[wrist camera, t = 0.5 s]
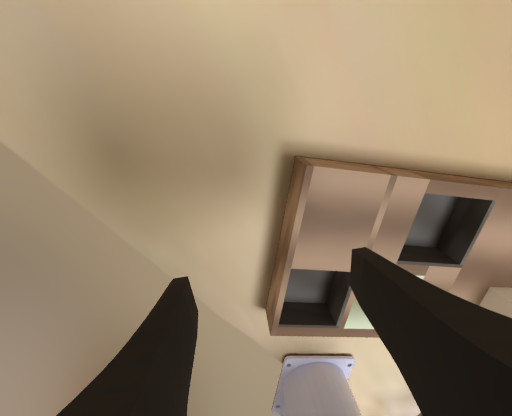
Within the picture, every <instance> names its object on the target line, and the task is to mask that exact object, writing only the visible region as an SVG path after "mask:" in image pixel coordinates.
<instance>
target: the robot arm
mask: <svg viewBox="0 0 512 416" xmlns="http://www.w3.org/2000/svg"><path fill="white" fill-rule="evenodd" d="M350 287H351V289H352V291H353V293H354V295H355V298H356V300H357V302H358V304H359V306H360V307H361V309H362V310H363V312H364V314H365V315H366V317H367V318H368V320H369V322H370V323H371V325H372V326H373V328H374V329H375V331H376V332H377V334H378V336H379V337H380V339H381V340H382V342H383V343H384V345H385V346H386V348H387V349H388V351H389V353H390V354H391V356H392V358H393V359H394V361H395V363H396V364H397V366H398V368H399V370H400V372H401V374H402V376H403V378H404V379H405V381H406V383H407V385H408V387H409V389H410V391H411V393H412V395H413V397H414V399H415V401H416V403H417V405H418V407H419V409H420V411H421V413H422V415H423V416H512V318H510V317H507V316H505V315H502V314H499V313H497V312H494V311H491V310H489V309H486V308H484V307H481V306H479V305H476V304H474V303H472V302H469V301H467V300H465V299H462V298H460V297H458V296H456V295H453V294H451V293H449V292H447V291H445V290H443V289H441V288H439V287H437V286H435V285H433V284H431V283H429V282H427V281H425V280H423V279H421V278H419V277H417V276H415V275H414V274H412V273H410V272H408V271H406V270H405V269H403V268H401V267H399V266H398V265H396V264H394V263H392V262H391V261H389V260H387V259H386V258H384V257H382V256H381V255H379V254H377V253H375V252H374V251H372V250H370V249H368V248H366V247H362V248H356V249H352V255H351V270H350ZM197 328H198V309H197V306H196V303H195V299H194V296H193V293H192V289H191V286H190V282H189V279H188V276H187V277H181V278H175V279H173V280H172V281H171V282H170V284H169V285H168V287H167V288H166V290H165V291H164V293H163V294H162V296H161V297H160V299H159V300H158V302H157V303H156V305H155V306H154V308H153V309H152V310H151V312H150V313H149V315H148V316H147V317H146V319H145V320H144V321H143V323H142V324H141V326H140V327H139V328H138V329H137V331H136V332H135V333H134V334H133V336H132V337H131V338H130V340H129V341H128V342H127V343H126V345H125V346H124V347H123V348H122V350H120V352H119V353H118V354H117V355H116V356H115V358H114V359H113V360H112V361H111V362H110V363H109V364H108V365H107V366H106V367H105V368H104V370H103V371H102V372H101V373H100V374H99V375H98V376H97V377H96V378H95V379H94V380H93V381H92V382H91V383H90V384H89V385H88V386H87V387H86V388H85V389H84V390H83V391H82V392H81V393H80V394H79V395H78V396H77V397H76V398H75V399H74V400H73V401H72V402H71V403H69V404H68V405H67V406H66V407H65V408H64V409H63V410H62V411H61V412H60V413H59V414H58V415H56V416H187V403H188V394H189V387H190V380H191V374H192V367H193V361H194V354H195V347H196V340H197ZM354 363H355V359H354V357H353V356H286V357H285V359H284V362H283V366H282V370H281V374H280V378H279V382H278V386H277V390H276V394H275V398H274V402H273V406H272V413H273V414H280V415H281V416H362V415H361V413H360V410H359V408H358V405H357V403H356V401H355V398H354V396H353V394H352V391H351V389H350V387H349V384H348V382H347V380H348V378H349V375H350V373H351V370H352V368H353V365H354Z"/></svg>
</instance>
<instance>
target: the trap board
mask: <svg viewBox="0 0 512 416" xmlns="http://www.w3.org/2000/svg"><path fill="white" fill-rule="evenodd" d="M362 247H366V248H368V249H370V250H372V251H374V252H375V253H377V254H379V255H381V256H382V257H384V258H386V259H387V260H389V261H391V262H392V263H394V264H396V265H398V266H399V267H401V268H403V269H405V270H406V271H408V272H410V273H412V274H414V275H415V276H417V277H419V278H421V279H423V280H425V281H427V282H429V283H431V284H433V285H435V286H437V287H439V288H441V289H443V290H445V291H447V292H449V293H451V294H453V295H456V296H458V297H460V298H462V299H465V300H467V301H469V302H472V303H474V304H476V305H480V303H481V301H482V300H483V298H484V296H485V295H486V293H487V291H488V289H489V288H490V287H504V288H512V182H505V181H496V180H488V179H480V178H472V177H463V176H455V175H447V174H439V173H431V172H422V171H414V170H406V169H398V168H389V167H381V166H373V165H365V164H357V163H348V162H340V161H332V160H324V159H315V158H307V157H299V156H295V161H294V167H293V172H292V177H291V182H290V187H289V192H288V197H287V203H286V208H285V213H284V218H283V223H282V228H281V234H280V239H279V244H278V249H277V254H276V259H275V264H274V270H273V275H272V280H271V285H270V290H269V295H268V300H267V306H266V314H267V320H268V325H269V331H270V336H322V337H379V336H378V334H377V332H376V331H375V329H374V328H373V326H372V325H371V323H370V322H369V320H368V318H367V317H366V315H365V314H364V312H363V310H362V309H361V307H360V306H359V304H358V302H357V300H356V298H355V295H354V293H353V291H352V289H351V287H350V270H351V255H352V249H356V248H362Z"/></svg>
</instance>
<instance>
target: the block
mask: <svg viewBox="0 0 512 416" xmlns="http://www.w3.org/2000/svg"><path fill="white" fill-rule="evenodd" d="M479 306H481V307H484V308H486V309H489V310H491V311H494V312H497V313H499V314H502V315H505V316H507V317H510V318H512V288H504V287H490V288H489V289H488V291H487V293H486V295H485V296H484V298H483V300H482V301H481V303H480V305H479Z"/></svg>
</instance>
